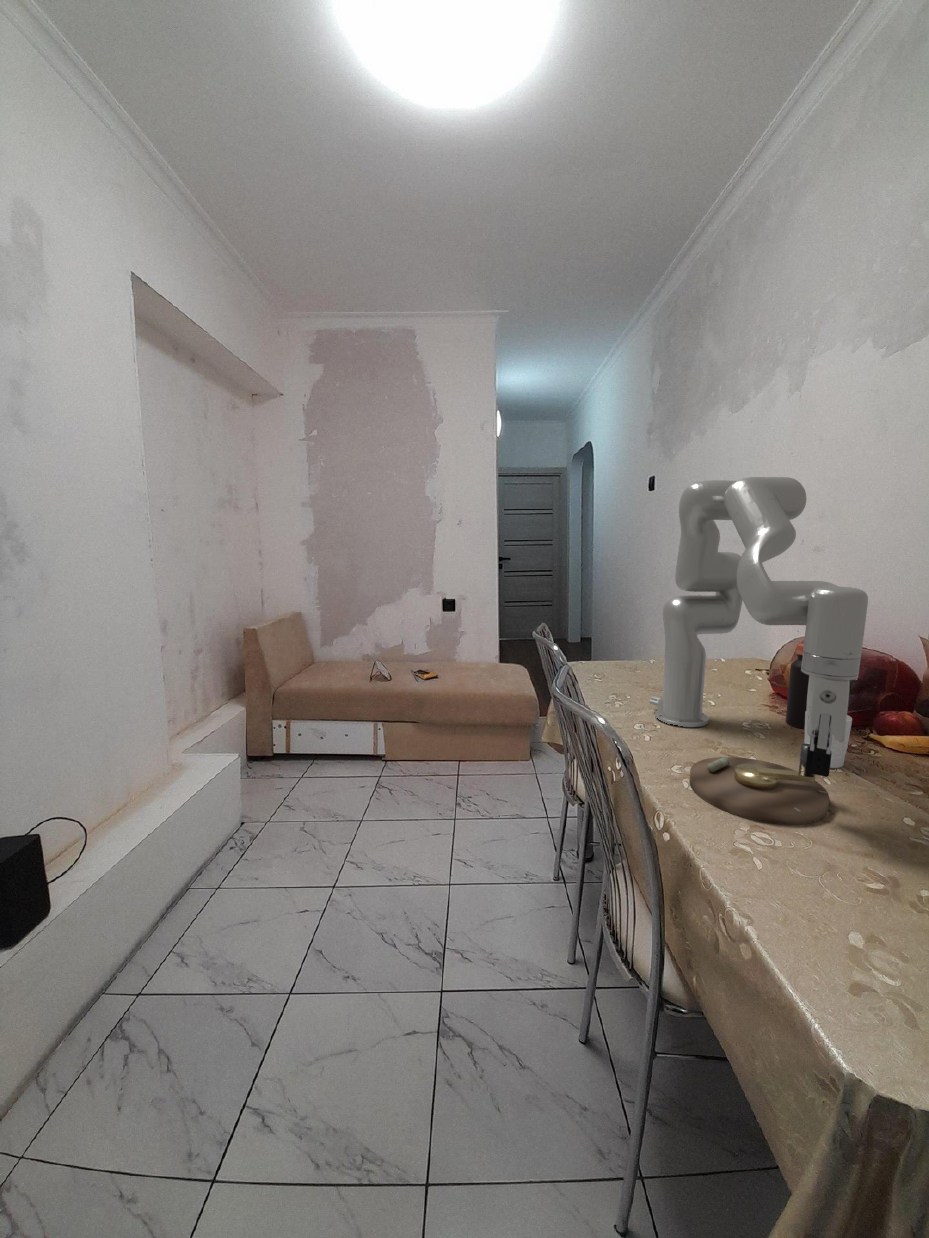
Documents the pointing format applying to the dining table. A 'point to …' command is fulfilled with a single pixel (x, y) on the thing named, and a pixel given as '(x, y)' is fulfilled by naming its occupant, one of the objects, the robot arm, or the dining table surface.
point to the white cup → (835, 745)
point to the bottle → (797, 692)
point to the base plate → (758, 793)
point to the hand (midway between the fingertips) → (816, 772)
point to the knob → (772, 773)
